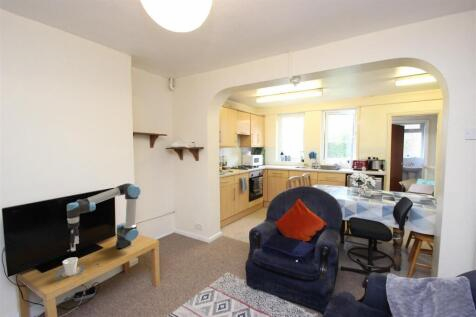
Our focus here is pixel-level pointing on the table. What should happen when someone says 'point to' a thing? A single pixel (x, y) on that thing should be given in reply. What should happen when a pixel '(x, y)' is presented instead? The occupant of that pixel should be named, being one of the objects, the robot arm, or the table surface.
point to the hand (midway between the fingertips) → (75, 247)
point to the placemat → (70, 276)
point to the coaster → (73, 274)
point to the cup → (70, 265)
